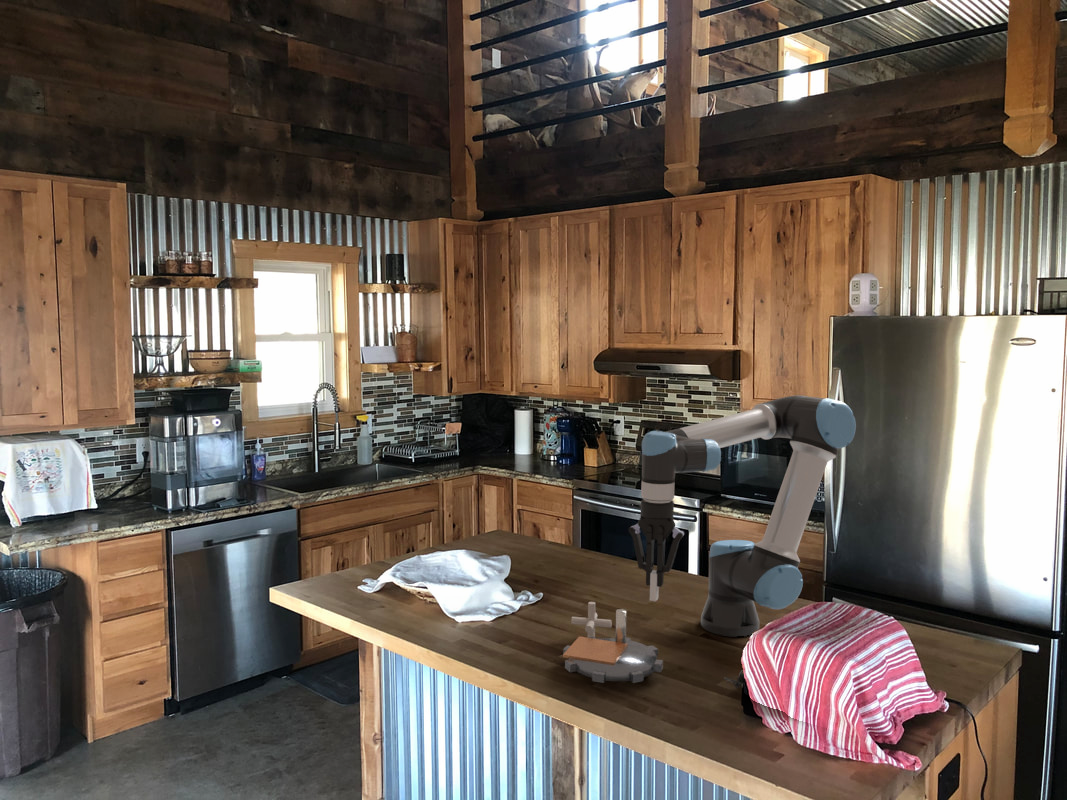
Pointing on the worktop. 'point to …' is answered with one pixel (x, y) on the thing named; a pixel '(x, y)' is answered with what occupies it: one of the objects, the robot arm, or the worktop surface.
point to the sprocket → (612, 656)
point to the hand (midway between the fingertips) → (654, 599)
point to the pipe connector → (591, 620)
